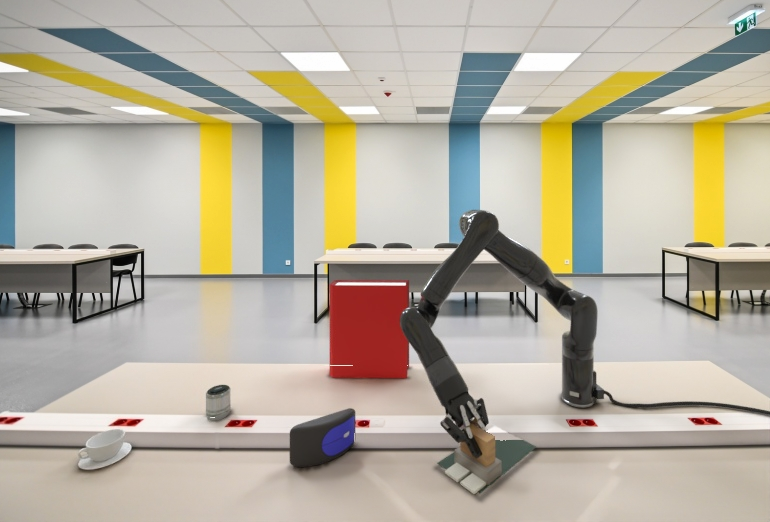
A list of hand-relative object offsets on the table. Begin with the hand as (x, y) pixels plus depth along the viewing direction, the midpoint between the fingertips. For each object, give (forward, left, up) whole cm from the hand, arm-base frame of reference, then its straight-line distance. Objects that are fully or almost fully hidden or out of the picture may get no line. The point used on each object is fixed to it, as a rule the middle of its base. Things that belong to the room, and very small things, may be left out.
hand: (484, 452), depth 90 cm
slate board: (-3, -6, -6) cm, 9 cm away
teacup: (+88, -26, -6) cm, 92 cm away
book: (+23, -58, -6) cm, 62 cm away
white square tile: (+6, -1, -5) cm, 8 cm away
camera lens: (+67, -40, -6) cm, 78 cm away
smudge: (+4, +3, -5) cm, 6 cm away
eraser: (+1, -2, -5) cm, 5 cm away
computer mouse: (+36, -16, -6) cm, 40 cm away
